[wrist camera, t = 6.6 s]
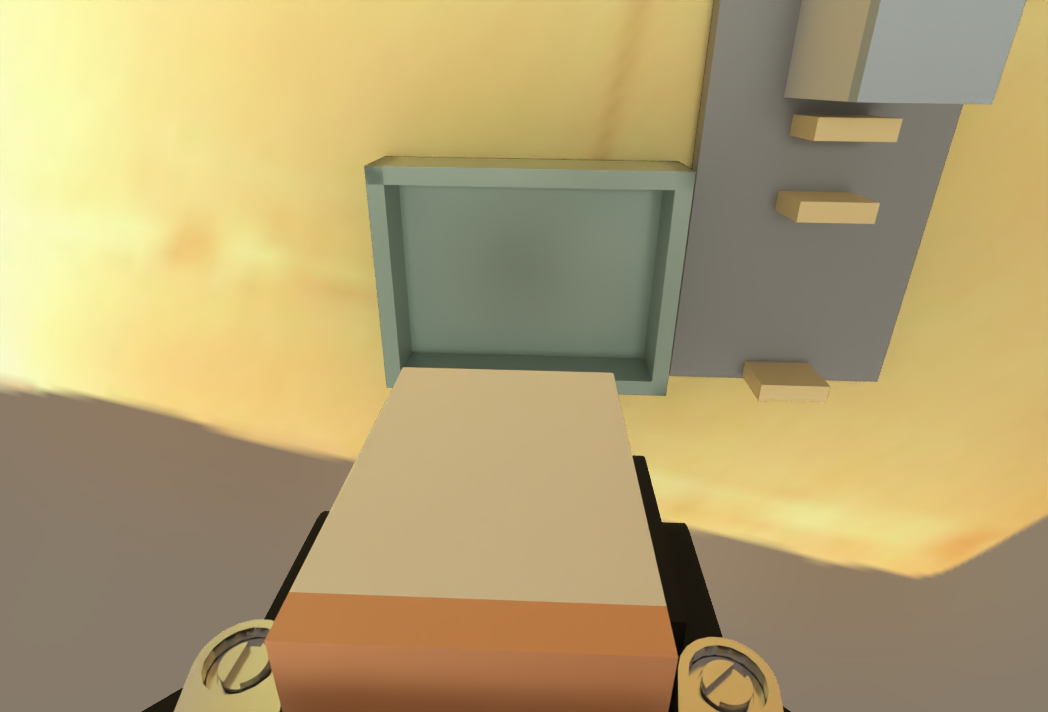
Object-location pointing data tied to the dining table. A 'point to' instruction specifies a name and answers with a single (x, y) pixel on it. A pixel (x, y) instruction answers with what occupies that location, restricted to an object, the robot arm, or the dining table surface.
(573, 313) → the tray
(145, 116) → the dining table surface
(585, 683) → the block
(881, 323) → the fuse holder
